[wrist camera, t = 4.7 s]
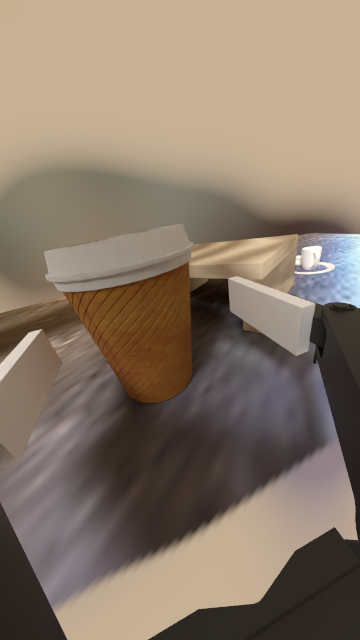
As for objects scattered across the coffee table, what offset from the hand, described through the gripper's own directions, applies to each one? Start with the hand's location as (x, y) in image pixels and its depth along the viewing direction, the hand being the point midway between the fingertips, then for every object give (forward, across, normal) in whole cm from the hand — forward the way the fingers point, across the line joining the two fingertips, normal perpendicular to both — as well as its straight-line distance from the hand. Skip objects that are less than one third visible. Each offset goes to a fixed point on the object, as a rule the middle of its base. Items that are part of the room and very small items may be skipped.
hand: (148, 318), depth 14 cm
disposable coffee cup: (+1, 0, -7) cm, 7 cm away
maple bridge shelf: (+14, +13, -6) cm, 20 cm away
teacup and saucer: (+17, +36, -7) cm, 40 cm away
